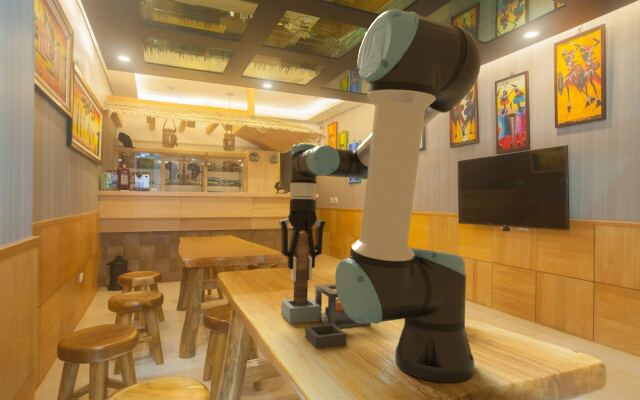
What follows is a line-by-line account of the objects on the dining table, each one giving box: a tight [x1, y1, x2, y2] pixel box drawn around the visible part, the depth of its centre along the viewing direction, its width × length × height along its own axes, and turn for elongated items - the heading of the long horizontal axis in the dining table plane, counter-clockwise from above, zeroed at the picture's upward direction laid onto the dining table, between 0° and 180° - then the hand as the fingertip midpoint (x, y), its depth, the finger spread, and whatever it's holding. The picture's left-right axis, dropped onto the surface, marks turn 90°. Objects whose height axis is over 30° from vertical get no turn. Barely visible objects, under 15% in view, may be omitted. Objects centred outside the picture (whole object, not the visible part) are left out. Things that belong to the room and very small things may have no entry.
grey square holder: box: [280, 297, 322, 324], centre depth 101 cm, size 9×9×4 cm
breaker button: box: [336, 298, 344, 312], centre depth 99 cm, size 4×4×4 cm
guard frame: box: [314, 283, 371, 329], centre depth 100 cm, size 12×12×9 cm
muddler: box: [292, 232, 309, 305], centre depth 102 cm, size 4×4×20 cm
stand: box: [304, 324, 348, 349], centre depth 84 cm, size 8×8×2 cm
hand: (301, 279), depth 102 cm, fingers closed on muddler, 4 cm apart
